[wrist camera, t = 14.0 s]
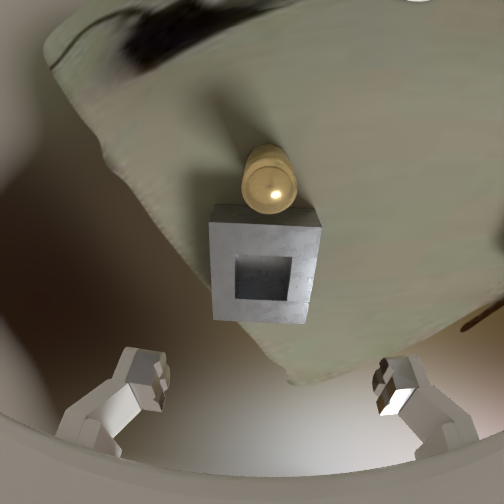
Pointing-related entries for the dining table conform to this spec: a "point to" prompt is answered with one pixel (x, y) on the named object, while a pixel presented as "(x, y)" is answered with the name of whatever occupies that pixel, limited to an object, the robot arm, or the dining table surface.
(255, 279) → the housing
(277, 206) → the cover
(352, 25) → the dining table surface
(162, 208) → the dining table surface
